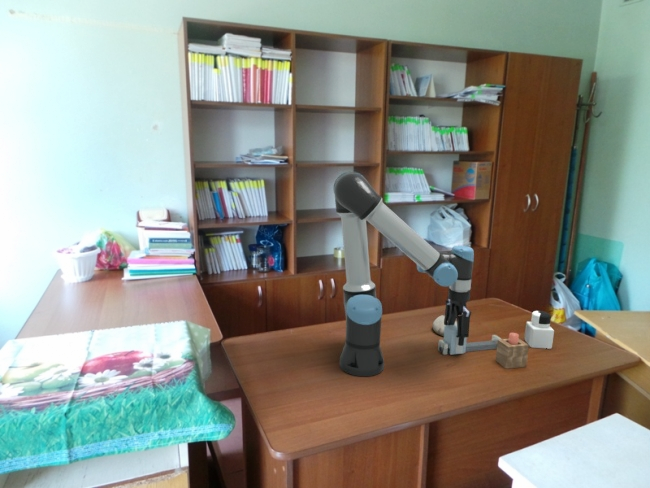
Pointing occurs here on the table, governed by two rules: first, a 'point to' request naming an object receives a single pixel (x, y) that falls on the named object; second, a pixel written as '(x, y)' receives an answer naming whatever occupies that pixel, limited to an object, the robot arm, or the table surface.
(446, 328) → the carriage
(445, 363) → the table surface
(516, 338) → the plunger
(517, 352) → the wooden box
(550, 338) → the container
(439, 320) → the stone
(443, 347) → the rail
